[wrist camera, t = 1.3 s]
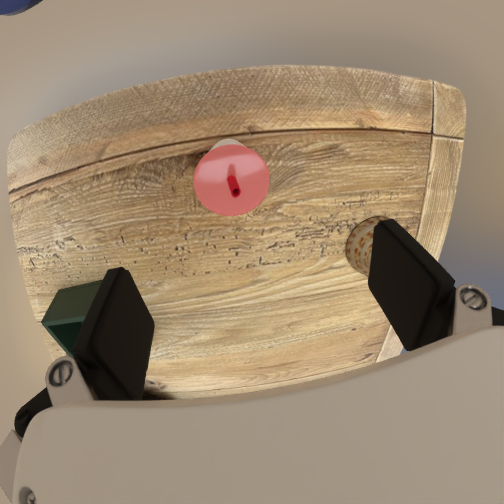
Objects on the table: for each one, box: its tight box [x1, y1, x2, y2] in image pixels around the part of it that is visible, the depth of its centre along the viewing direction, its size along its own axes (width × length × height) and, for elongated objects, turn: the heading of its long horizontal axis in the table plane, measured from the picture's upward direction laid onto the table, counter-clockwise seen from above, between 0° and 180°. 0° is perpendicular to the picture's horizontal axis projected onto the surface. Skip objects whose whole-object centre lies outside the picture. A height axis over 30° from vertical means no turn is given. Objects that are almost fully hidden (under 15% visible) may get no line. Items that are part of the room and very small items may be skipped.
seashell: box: [346, 217, 388, 277], centre depth 33 cm, size 8×6×8 cm
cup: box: [193, 139, 270, 216], centre depth 21 cm, size 5×5×12 cm
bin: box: [41, 280, 153, 370], centre depth 33 cm, size 12×12×7 cm
